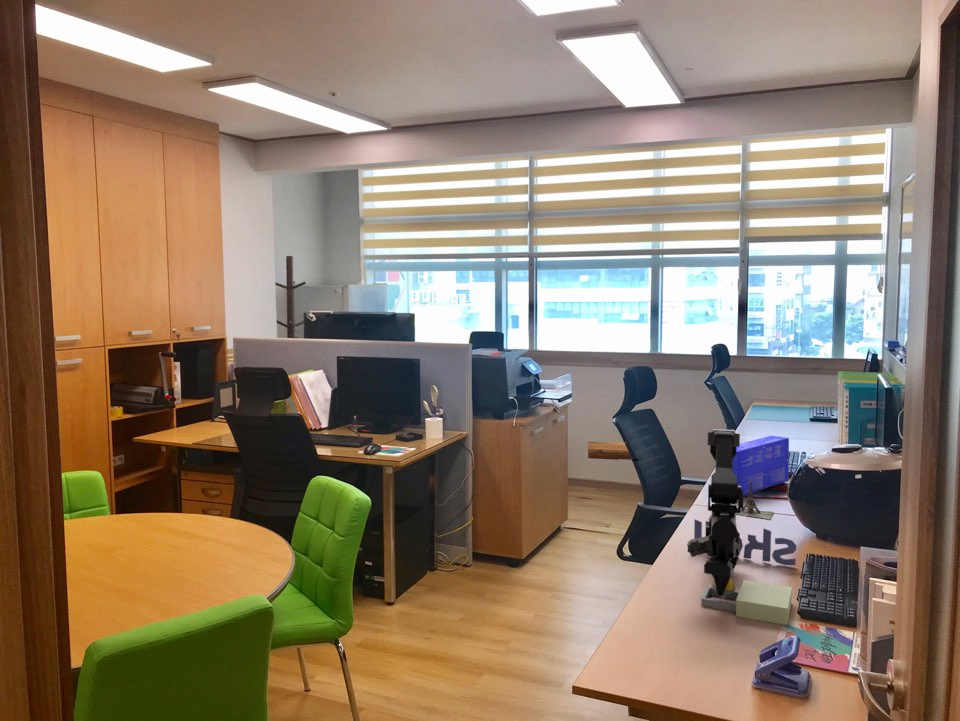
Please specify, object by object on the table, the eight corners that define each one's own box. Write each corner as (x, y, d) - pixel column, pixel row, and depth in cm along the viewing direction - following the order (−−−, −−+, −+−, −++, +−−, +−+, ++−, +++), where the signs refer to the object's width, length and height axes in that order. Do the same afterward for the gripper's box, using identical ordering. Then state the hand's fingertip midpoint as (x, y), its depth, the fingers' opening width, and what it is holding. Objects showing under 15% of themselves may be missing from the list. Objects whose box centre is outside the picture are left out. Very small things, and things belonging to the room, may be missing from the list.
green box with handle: (708, 589, 195) (709, 574, 194) (791, 602, 186) (791, 587, 186) (699, 609, 182) (699, 593, 182) (787, 625, 173) (787, 608, 173)
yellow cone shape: (729, 593, 190) (733, 557, 187) (736, 604, 184) (741, 568, 182) (708, 593, 189) (712, 557, 187) (715, 604, 184) (719, 567, 182)
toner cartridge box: (769, 478, 312) (771, 435, 310) (789, 482, 305) (790, 437, 304) (716, 494, 287) (717, 447, 286) (736, 499, 281) (737, 450, 279)
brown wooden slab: (588, 461, 347) (588, 449, 346) (587, 453, 365) (587, 441, 364) (638, 463, 344) (638, 450, 343) (635, 454, 362) (635, 442, 361)
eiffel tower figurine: (724, 514, 262) (725, 477, 261) (730, 507, 271) (731, 471, 270) (770, 520, 255) (771, 482, 254) (774, 513, 264) (775, 476, 263)
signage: (795, 566, 211) (796, 532, 210) (795, 567, 211) (796, 533, 210) (694, 551, 224) (695, 519, 223) (693, 552, 224) (694, 519, 223)
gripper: (696, 515, 197) (695, 573, 198) (683, 536, 180) (681, 599, 182) (741, 521, 192) (739, 579, 193) (731, 543, 175) (729, 607, 177)
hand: (722, 590), depth 186 cm, fingers closed on yellow cone shape, 5 cm apart
